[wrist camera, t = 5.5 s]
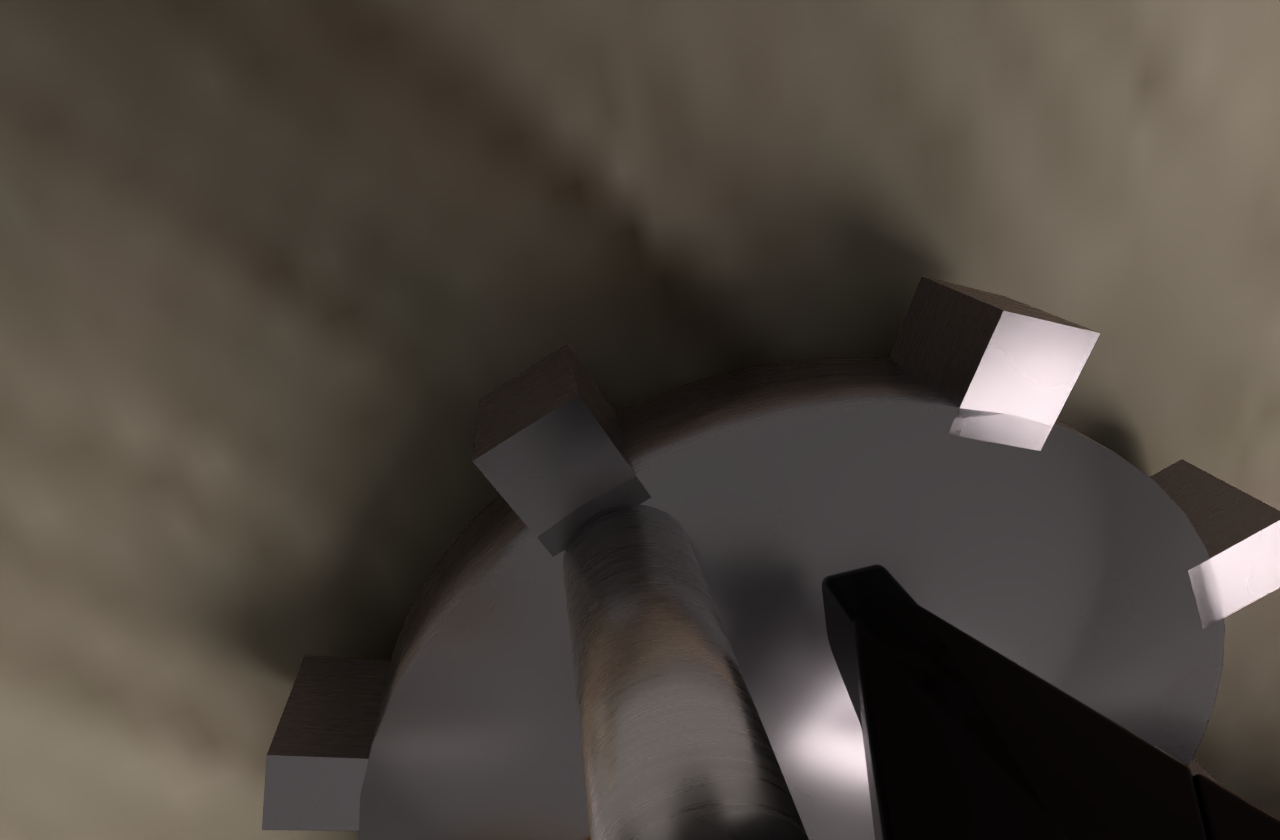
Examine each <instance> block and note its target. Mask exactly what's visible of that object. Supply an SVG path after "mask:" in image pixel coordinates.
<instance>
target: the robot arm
mask: <svg viewBox="0 0 1280 840" xmlns="http://www.w3.org/2000/svg"><path fill="white" fill-rule="evenodd" d="M822 595H823V604H824V613H825V622H826V630H827V636H828V641H829V644H830V648H831V651H832V654H833V656H834V659H835V661H836V664H837V667H838V669H839V672H840V674H841V677H842V679H843V682H844V684H845V687H846V689H847V692H848V694H849V697H850V699H851V702H852V705H853V707H854V710H855V712H856V715H857V717H858V720H859V722H860V725H861V727H862V734H863V742H864V751H865V759H866V767H867V776H868V784H869V793H870V801H871V810H872V818H873V827H874V835H875V840H1280V820H1279V819H1277V818H1276V817H1274V816H1272V815H1271V814H1269V813H1267V812H1265V811H1264V810H1262V809H1260V808H1258V807H1257V806H1255V805H1253V804H1251V803H1250V802H1248V801H1246V800H1245V799H1243V798H1241V797H1240V796H1238V795H1236V794H1235V793H1233V792H1231V791H1230V790H1228V789H1226V788H1225V787H1223V786H1221V785H1220V784H1218V783H1216V782H1215V781H1213V780H1211V779H1210V778H1208V777H1206V776H1205V775H1203V774H1195V775H1194V776H1193V774H1192V771H1191V769H1190V767H1189V766H1187V765H1186V764H1184V763H1182V762H1181V761H1179V760H1177V759H1176V758H1174V757H1172V756H1171V755H1169V754H1167V753H1166V752H1164V751H1162V750H1161V749H1159V748H1157V747H1156V746H1154V745H1152V744H1151V743H1149V742H1147V741H1145V740H1144V739H1142V738H1140V737H1139V736H1137V735H1135V734H1134V733H1132V732H1130V731H1129V730H1127V729H1125V728H1124V727H1122V726H1120V725H1119V724H1117V723H1115V722H1114V721H1112V720H1110V719H1109V718H1107V717H1105V716H1104V715H1102V714H1100V713H1099V712H1097V711H1095V710H1094V709H1092V708H1090V707H1089V706H1087V705H1085V704H1084V703H1082V702H1080V701H1079V700H1077V699H1075V698H1074V697H1072V696H1070V695H1069V694H1067V693H1065V692H1064V691H1062V690H1060V689H1059V688H1057V687H1055V686H1054V685H1052V684H1050V683H1049V682H1047V681H1045V680H1044V679H1042V678H1040V677H1039V676H1037V675H1035V674H1034V673H1032V672H1030V671H1029V670H1027V669H1025V668H1023V667H1022V666H1020V665H1018V664H1017V663H1015V662H1013V661H1012V660H1010V659H1008V658H1007V657H1005V656H1003V655H1002V654H1000V653H998V652H997V651H995V650H993V649H992V648H990V647H988V646H987V645H985V644H983V643H982V642H980V641H978V640H977V639H975V638H973V637H972V636H970V635H968V634H967V633H965V632H963V631H962V630H960V629H958V628H957V627H955V626H953V625H952V624H950V623H948V622H947V621H945V620H943V619H942V618H940V617H938V616H937V615H935V614H933V613H932V612H930V611H928V610H927V609H925V608H923V607H922V606H920V605H918V604H917V602H916V601H915V600H914V599H913V598H912V597H911V596H910V595H909V593H908V592H907V591H906V590H905V589H904V588H903V587H902V586H901V585H900V583H899V582H898V581H897V580H896V579H895V578H894V577H893V576H892V575H891V573H890V572H889V571H888V570H887V569H886V568H885V567H884V566H882V565H878V564H874V565H870V566H866V567H862V568H858V569H854V570H850V571H845V572H841V573H837V574H833V575H829V576H826V577H825V578H824V579H823V581H822Z"/></svg>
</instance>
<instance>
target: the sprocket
mask: <svg viewBox="0 0 1280 840" xmlns="http://www.w3.org/2000/svg"><path fill="white" fill-rule="evenodd" d="M1099 335H1100V333H1098V332H1096V331H1093V330H1090V329H1088V328H1085V327H1083V326H1080V325H1078V324H1075V323H1072V322H1070V321H1067V320H1065V319H1062V318H1060V317H1057V316H1054V315H1052V314H1049V313H1047V312H1044V311H1042V310H1039V309H1036V308H1034V307H1031V306H1029V305H1026V304H1024V303H1021V302H1018V301H1016V300H1013V299H1011V298H1008V297H1005V296H1002V295H997V294H993V293H989V292H985V291H981V290H977V289H973V288H969V287H964V286H960V285H956V284H952V283H948V282H944V281H940V280H936V279H931V278H927V277H923V276H921V279H920V281H919V284H918V286H917V289H916V291H915V294H914V296H913V299H912V301H911V304H910V306H909V309H908V311H907V314H906V316H905V319H904V321H903V324H902V326H901V329H900V331H899V334H898V336H897V339H896V341H895V344H894V346H893V349H892V351H891V354H890V356H889V359H880V358H813V359H806V360H798V361H791V362H784V363H776V364H769V365H761V366H754V367H750V368H746V369H742V370H738V371H735V372H731V373H727V374H723V375H719V376H716V377H712V378H708V379H704V380H700V381H697V382H693V383H690V384H687V385H685V386H682V387H679V388H677V389H674V390H672V391H669V392H667V393H664V394H662V395H659V396H657V397H654V398H652V399H649V400H647V401H644V402H642V403H639V404H637V405H634V406H632V407H629V408H627V409H626V410H624V411H622V412H620V413H618V414H616V413H615V412H614V410H613V409H612V408H611V406H610V405H609V403H608V402H607V400H606V399H605V398H604V396H603V395H602V393H601V392H600V390H599V389H598V387H597V386H596V385H595V383H594V382H593V380H592V379H591V377H590V376H589V374H588V373H587V372H586V370H585V369H584V367H583V366H582V364H581V363H580V361H579V360H578V359H577V357H576V356H575V354H574V353H573V351H572V350H571V348H570V347H569V346H568V344H566V345H565V346H563V347H562V348H560V349H558V350H557V351H555V352H554V353H552V354H551V355H549V356H547V357H546V358H544V359H543V360H541V361H540V362H538V363H536V364H535V365H533V366H532V367H530V368H529V369H527V370H525V371H524V372H522V373H521V374H519V375H518V376H516V377H514V378H513V379H511V380H510V381H508V382H507V383H505V384H503V385H502V386H500V387H499V388H497V389H496V390H494V391H492V392H491V393H489V394H488V395H486V396H485V397H483V398H481V399H480V402H479V410H478V419H477V427H476V435H475V443H474V451H473V459H472V462H473V463H474V464H475V465H476V466H477V468H478V469H479V470H480V471H481V472H482V473H483V475H484V476H485V477H486V478H487V479H488V481H489V482H490V483H491V484H492V485H493V486H494V488H495V489H496V490H497V491H498V492H499V494H500V495H499V496H497V497H496V498H495V499H494V500H493V501H492V502H491V503H490V504H489V505H488V506H487V507H486V508H484V509H483V510H482V511H481V512H480V513H479V514H478V515H477V516H476V517H475V518H474V519H473V521H472V522H471V523H470V524H469V525H468V527H467V528H466V529H465V530H464V531H463V533H462V534H461V535H460V536H459V537H458V539H457V540H456V541H455V542H454V543H453V545H452V546H451V547H450V548H449V549H448V551H447V552H446V553H445V554H444V556H443V557H442V558H441V559H440V560H439V562H438V564H437V565H436V567H435V569H434V570H433V572H432V574H431V575H430V577H429V578H428V580H427V582H426V583H425V585H424V587H423V588H422V590H421V591H420V593H419V595H418V596H417V598H416V600H415V601H414V603H413V604H412V607H411V609H410V611H409V614H408V616H407V619H406V621H405V623H404V626H403V628H402V630H401V633H400V635H399V638H398V640H397V642H396V645H395V647H394V650H393V653H392V657H391V661H380V660H366V659H352V658H337V657H323V656H309V655H305V657H304V659H303V662H302V665H301V667H300V670H299V672H298V675H297V678H296V680H295V683H294V685H293V688H292V691H291V693H290V696H289V698H288V701H287V704H286V706H285V709H284V711H283V714H282V717H281V719H280V722H279V725H278V727H277V730H276V732H275V735H274V738H273V740H272V743H271V745H270V748H269V751H268V753H267V760H266V776H265V792H264V808H263V824H262V830H317V831H359V839H358V840H875V835H874V827H873V818H872V810H871V801H870V793H869V784H868V776H867V767H866V759H865V751H864V742H863V734H862V727H861V725H860V722H859V720H858V717H857V715H856V712H855V710H854V707H853V705H852V702H851V699H850V697H849V694H848V692H847V689H846V687H845V684H844V682H843V679H842V677H841V674H840V672H839V669H838V667H837V664H836V661H835V659H834V656H833V654H832V651H831V648H830V644H829V641H828V636H827V630H826V622H825V613H824V604H823V595H822V581H823V579H824V578H825V577H826V576H829V575H833V574H837V573H841V572H845V571H850V570H854V569H858V568H862V567H866V566H870V565H874V564H878V565H882V566H884V567H885V568H886V569H887V570H888V571H889V572H890V573H891V575H892V576H893V577H894V578H895V579H896V580H897V581H898V582H899V583H900V585H901V586H902V587H903V588H904V589H905V590H906V591H907V592H908V593H909V595H910V596H911V597H912V598H913V599H914V600H915V601H916V602H917V604H918V605H920V606H922V607H923V608H925V609H927V610H928V611H930V612H932V613H933V614H935V615H937V616H938V617H940V618H942V619H943V620H945V621H947V622H948V623H950V624H952V625H953V626H955V627H957V628H958V629H960V630H962V631H963V632H965V633H967V634H968V635H970V636H972V637H973V638H975V639H977V640H978V641H980V642H982V643H983V644H985V645H987V646H988V647H990V648H992V649H993V650H995V651H997V652H998V653H1000V654H1002V655H1003V656H1005V657H1007V658H1008V659H1010V660H1012V661H1013V662H1015V663H1017V664H1018V665H1020V666H1022V667H1023V668H1025V669H1027V670H1029V671H1030V672H1032V673H1034V674H1035V675H1037V676H1039V677H1040V678H1042V679H1044V680H1045V681H1047V682H1049V683H1050V684H1052V685H1054V686H1055V687H1057V688H1059V689H1060V690H1062V691H1064V692H1065V693H1067V694H1069V695H1070V696H1072V697H1074V698H1075V699H1077V700H1079V701H1080V702H1082V703H1084V704H1085V705H1087V706H1089V707H1090V708H1092V709H1094V710H1095V711H1097V712H1099V713H1100V714H1102V715H1104V716H1105V717H1107V718H1109V719H1110V720H1112V721H1114V722H1115V723H1117V724H1119V725H1120V726H1122V727H1124V728H1125V729H1127V730H1129V731H1130V732H1132V733H1134V734H1135V735H1137V736H1139V737H1140V738H1142V739H1144V740H1145V741H1147V742H1149V743H1151V744H1152V745H1154V746H1156V747H1157V748H1159V749H1161V750H1162V751H1164V752H1166V753H1167V754H1169V755H1171V756H1172V757H1174V758H1176V759H1177V760H1179V761H1181V762H1182V763H1184V764H1186V765H1187V766H1189V767H1190V769H1191V771H1192V774H1193V776H1194V775H1195V774H1203V775H1205V776H1206V777H1208V778H1210V779H1211V780H1213V781H1215V782H1216V783H1218V782H1217V781H1216V780H1215V779H1214V778H1213V777H1212V776H1211V775H1210V774H1209V773H1208V772H1207V771H1206V770H1205V769H1204V768H1203V767H1202V766H1201V765H1200V764H1198V763H1197V762H1196V761H1195V760H1194V759H1193V756H1194V754H1195V752H1196V751H1197V749H1198V747H1199V745H1200V742H1201V740H1202V737H1203V734H1204V732H1205V729H1206V726H1207V724H1208V721H1209V718H1210V716H1211V713H1212V710H1213V707H1214V704H1215V700H1216V695H1217V690H1218V686H1219V681H1220V677H1221V672H1222V667H1223V652H1224V633H1225V625H1224V618H1225V617H1226V616H1228V615H1230V614H1232V613H1234V612H1236V611H1238V610H1239V609H1241V608H1243V607H1245V606H1247V605H1249V604H1250V603H1252V602H1254V601H1256V600H1258V599H1260V598H1261V597H1263V596H1265V595H1267V594H1269V593H1271V592H1272V591H1274V590H1276V589H1278V588H1280V511H1278V510H1277V509H1275V508H1273V507H1271V506H1269V505H1267V504H1265V503H1263V502H1261V501H1260V500H1258V499H1256V498H1254V497H1252V496H1250V495H1248V494H1246V493H1244V492H1243V491H1241V490H1239V489H1237V488H1235V487H1233V486H1231V485H1229V484H1228V483H1226V482H1224V481H1222V480H1220V479H1218V478H1216V477H1214V476H1212V475H1211V474H1209V473H1207V472H1205V471H1203V470H1201V469H1199V468H1197V467H1195V466H1194V465H1192V464H1190V463H1188V462H1186V461H1184V460H1182V459H1181V460H1180V461H1178V462H1176V463H1174V464H1173V465H1171V466H1169V467H1167V468H1165V469H1164V470H1162V471H1160V472H1158V473H1157V474H1155V475H1153V476H1151V477H1149V476H1147V475H1146V474H1145V473H1143V472H1142V471H1140V470H1139V469H1138V468H1136V467H1135V466H1133V465H1132V464H1131V463H1129V462H1128V461H1126V460H1125V459H1124V458H1122V457H1121V456H1119V455H1118V454H1117V453H1115V452H1114V451H1112V450H1110V449H1108V448H1107V447H1105V446H1103V445H1101V444H1100V443H1098V442H1096V441H1094V440H1093V439H1091V438H1089V437H1088V436H1086V435H1084V434H1082V433H1081V432H1079V431H1077V430H1075V429H1074V428H1072V427H1070V426H1069V425H1067V424H1065V423H1063V422H1062V421H1060V420H1058V419H1057V417H1058V415H1059V413H1060V411H1061V409H1062V407H1063V406H1064V404H1065V402H1066V400H1067V398H1068V396H1069V394H1070V392H1071V390H1072V388H1073V386H1074V384H1075V382H1076V380H1077V378H1078V376H1079V374H1080V372H1081V370H1082V368H1083V366H1084V364H1085V362H1086V360H1087V358H1088V357H1089V355H1090V353H1091V351H1092V349H1093V347H1094V345H1095V343H1096V341H1097V339H1098V337H1099ZM1218 784H1219V783H1218Z"/></svg>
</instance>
